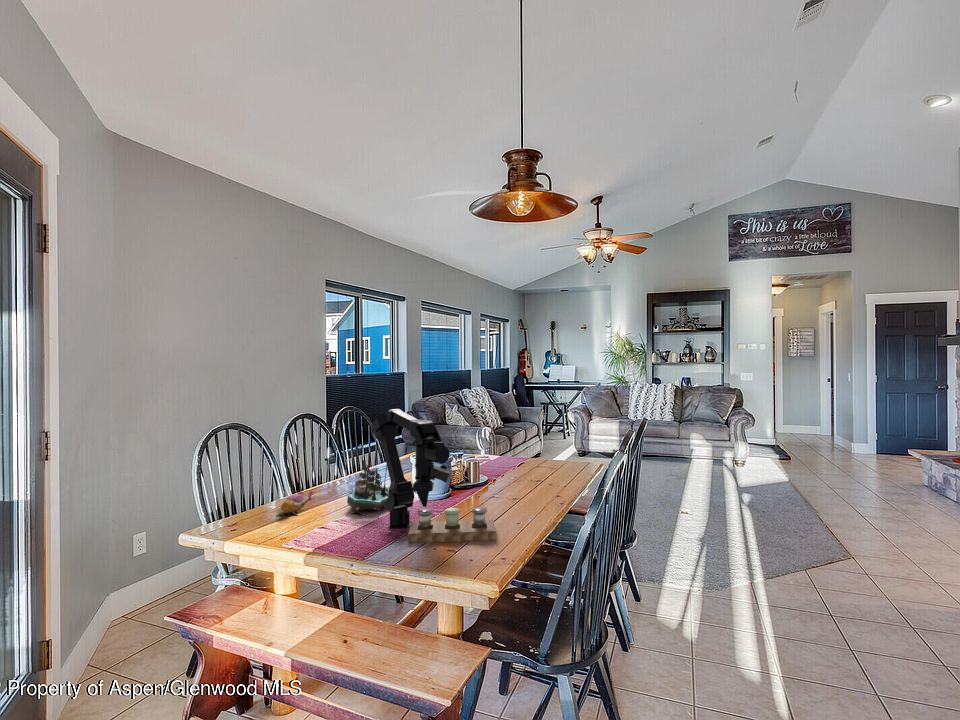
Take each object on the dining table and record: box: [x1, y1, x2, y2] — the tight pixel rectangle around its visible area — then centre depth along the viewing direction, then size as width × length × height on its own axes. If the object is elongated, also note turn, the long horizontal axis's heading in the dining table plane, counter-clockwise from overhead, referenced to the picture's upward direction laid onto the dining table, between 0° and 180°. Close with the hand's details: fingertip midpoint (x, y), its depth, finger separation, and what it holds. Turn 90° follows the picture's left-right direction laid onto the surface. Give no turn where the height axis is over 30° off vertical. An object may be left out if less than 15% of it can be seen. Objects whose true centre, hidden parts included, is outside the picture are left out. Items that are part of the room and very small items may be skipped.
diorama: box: [346, 463, 389, 512], centre depth 213 cm, size 19×25×19 cm
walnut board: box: [407, 519, 497, 544], centre depth 176 cm, size 28×12×3 cm, turn 92°
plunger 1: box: [416, 508, 434, 527], centre depth 175 cm, size 5×5×5 cm
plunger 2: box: [471, 506, 488, 525], centre depth 176 cm, size 5×5×5 cm
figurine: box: [276, 490, 314, 517], centre depth 212 cm, size 12×7×30 cm
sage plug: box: [444, 507, 461, 526], centre depth 176 cm, size 5×5×5 cm
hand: (424, 506), depth 175 cm, fingers closed
